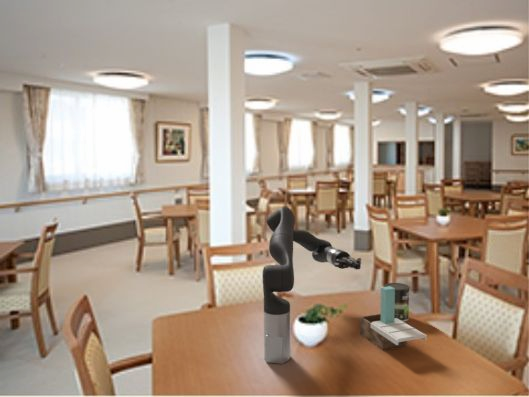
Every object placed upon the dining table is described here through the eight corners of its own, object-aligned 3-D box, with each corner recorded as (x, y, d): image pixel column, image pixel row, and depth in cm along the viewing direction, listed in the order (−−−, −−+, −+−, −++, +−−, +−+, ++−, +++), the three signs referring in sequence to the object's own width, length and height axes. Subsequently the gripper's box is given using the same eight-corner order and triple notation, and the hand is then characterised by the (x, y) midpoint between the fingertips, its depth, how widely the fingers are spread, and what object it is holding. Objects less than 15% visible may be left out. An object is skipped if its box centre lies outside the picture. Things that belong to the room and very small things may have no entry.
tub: (406, 346, 170) (406, 328, 170) (382, 350, 167) (383, 332, 166) (381, 330, 185) (381, 313, 185) (359, 334, 182) (360, 317, 181)
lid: (426, 340, 161) (427, 297, 159) (396, 345, 157) (397, 302, 155) (397, 323, 176) (398, 284, 175) (370, 327, 173) (370, 288, 171)
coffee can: (412, 316, 200) (412, 285, 198) (403, 324, 192) (404, 291, 190) (389, 312, 206) (389, 281, 205) (380, 318, 198) (380, 287, 196)
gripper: (324, 250, 198) (343, 259, 182) (351, 248, 203) (373, 256, 186) (324, 267, 199) (343, 277, 183) (351, 265, 203) (373, 274, 187)
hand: (358, 266), depth 184 cm, fingers closed
